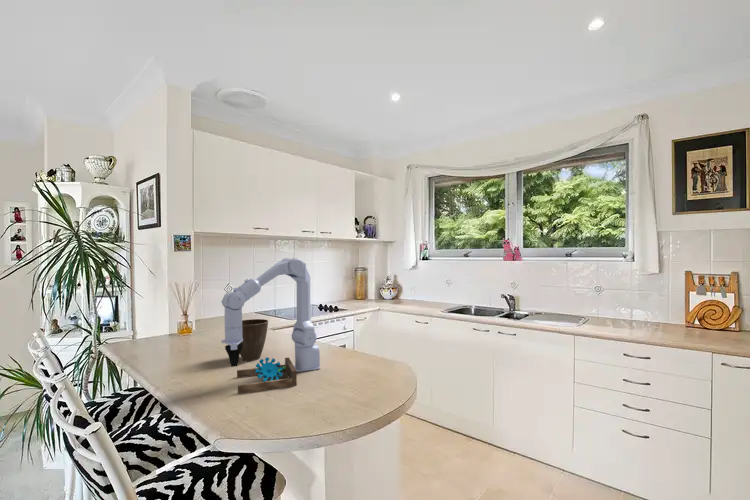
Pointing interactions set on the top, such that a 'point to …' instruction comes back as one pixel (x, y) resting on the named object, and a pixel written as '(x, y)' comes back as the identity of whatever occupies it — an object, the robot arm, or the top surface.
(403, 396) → the top surface
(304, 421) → the top surface
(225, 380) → the top surface
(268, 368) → the gear
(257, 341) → the plant pot
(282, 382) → the wooden u-shaped frame
